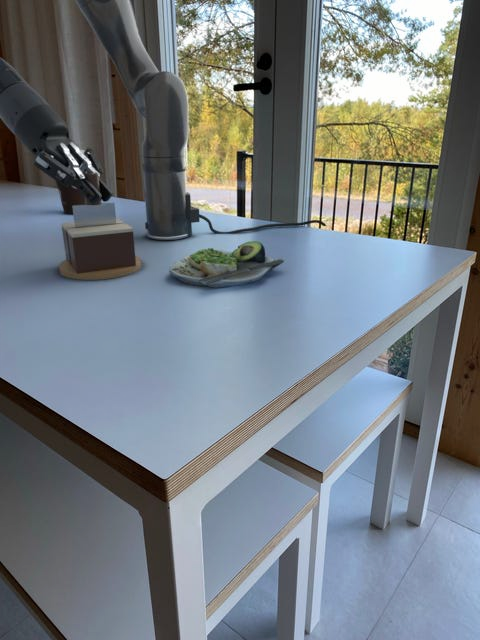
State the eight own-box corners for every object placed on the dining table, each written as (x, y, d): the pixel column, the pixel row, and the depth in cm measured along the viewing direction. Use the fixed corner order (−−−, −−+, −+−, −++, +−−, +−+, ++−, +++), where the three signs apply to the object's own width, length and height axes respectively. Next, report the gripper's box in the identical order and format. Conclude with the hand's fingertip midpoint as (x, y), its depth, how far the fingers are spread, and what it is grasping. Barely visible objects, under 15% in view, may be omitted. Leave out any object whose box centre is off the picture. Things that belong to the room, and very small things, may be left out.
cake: (128, 254, 94) (124, 215, 91) (151, 272, 82) (148, 229, 79) (53, 263, 87) (47, 222, 84) (67, 284, 76) (60, 238, 73)
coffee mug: (86, 215, 131) (81, 177, 127) (55, 215, 131) (49, 177, 127) (98, 208, 142) (94, 173, 138) (69, 208, 142) (65, 173, 138)
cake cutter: (116, 240, 86) (109, 171, 81) (120, 244, 84) (113, 173, 79) (76, 245, 83) (66, 173, 78) (79, 248, 81) (69, 175, 76)
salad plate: (252, 301, 69) (252, 270, 68) (147, 286, 75) (144, 258, 74) (289, 266, 86) (290, 241, 84) (200, 256, 92) (199, 232, 90)
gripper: (10, 100, 70) (90, 189, 72) (70, 104, 83) (137, 179, 84) (-11, 138, 74) (66, 222, 75) (49, 136, 86) (114, 208, 87)
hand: (103, 199), depth 79 cm, fingers closed on cake cutter, 2 cm apart
